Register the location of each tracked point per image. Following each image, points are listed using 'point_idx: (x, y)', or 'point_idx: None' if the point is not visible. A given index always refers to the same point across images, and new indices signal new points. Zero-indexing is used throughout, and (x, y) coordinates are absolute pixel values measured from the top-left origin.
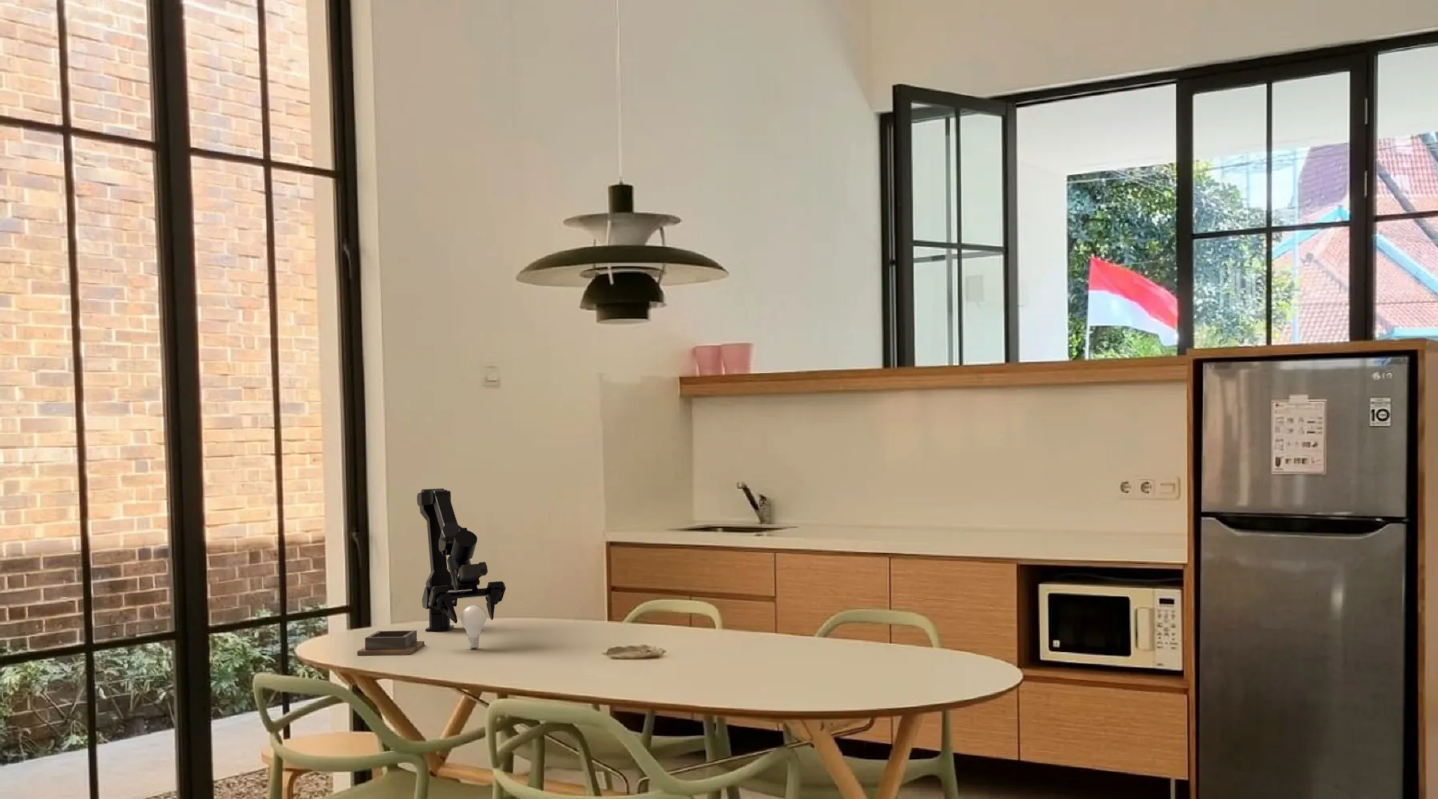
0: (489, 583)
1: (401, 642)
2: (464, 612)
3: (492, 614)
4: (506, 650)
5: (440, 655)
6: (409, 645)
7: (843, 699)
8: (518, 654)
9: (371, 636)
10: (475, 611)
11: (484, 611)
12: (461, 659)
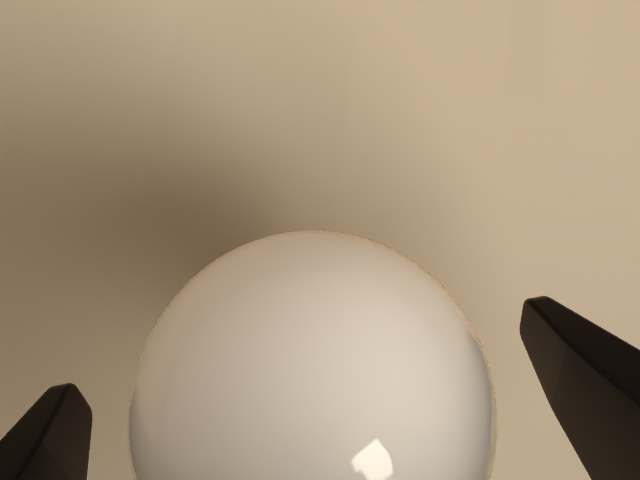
0: None
1: None
2: (463, 325)
3: (39, 416)
4: (109, 212)
5: (556, 215)
6: None
7: None
8: (68, 44)
9: None
10: (295, 250)
11: (142, 359)
12: (427, 28)
